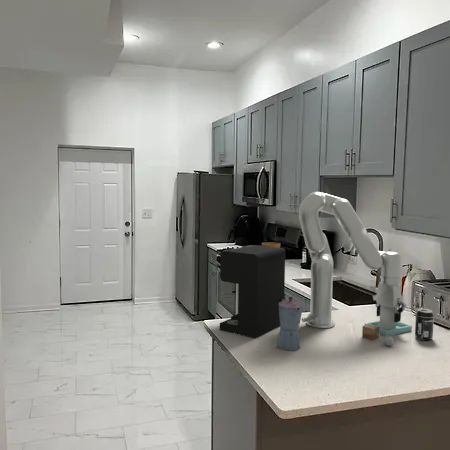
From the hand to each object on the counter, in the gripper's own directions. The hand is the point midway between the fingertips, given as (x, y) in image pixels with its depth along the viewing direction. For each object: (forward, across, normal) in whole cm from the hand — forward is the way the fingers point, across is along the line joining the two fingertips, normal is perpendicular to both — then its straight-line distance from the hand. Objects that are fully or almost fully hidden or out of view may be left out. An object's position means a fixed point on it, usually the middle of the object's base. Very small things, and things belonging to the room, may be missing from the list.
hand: (388, 318), depth 201 cm
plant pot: (+5, -164, +54) cm, 173 cm away
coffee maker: (+5, -32, -49) cm, 59 cm away
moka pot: (+5, -4, -52) cm, 52 cm away
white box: (+4, 0, 0) cm, 5 cm away
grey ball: (+5, +14, -16) cm, 22 cm away
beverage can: (+5, +15, +4) cm, 16 cm away
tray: (+5, 0, 0) cm, 5 cm away
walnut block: (+5, +4, -15) cm, 16 cm away
